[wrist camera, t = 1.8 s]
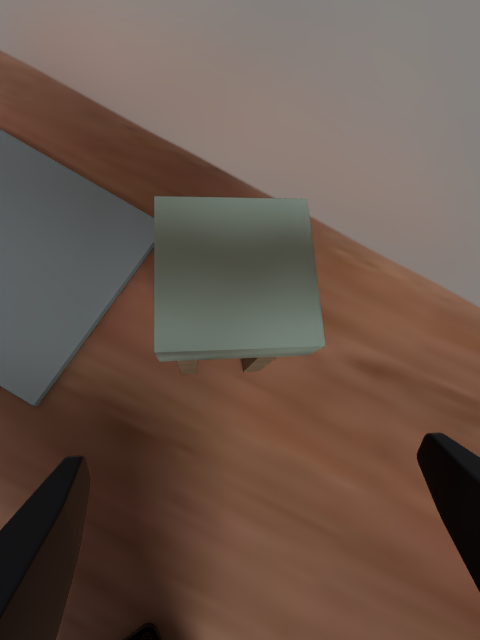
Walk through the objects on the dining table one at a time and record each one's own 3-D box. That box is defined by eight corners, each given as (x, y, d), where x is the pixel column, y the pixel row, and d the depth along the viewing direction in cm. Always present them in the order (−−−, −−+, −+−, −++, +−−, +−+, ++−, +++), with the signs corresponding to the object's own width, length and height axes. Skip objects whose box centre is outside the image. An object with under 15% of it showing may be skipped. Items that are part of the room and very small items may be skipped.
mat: (37, 406, 21) (33, 405, 21) (-158, 288, 22) (-168, 284, 21) (166, 229, 25) (166, 224, 25) (-1, 132, 26) (-5, 126, 25)
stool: (266, 378, 23) (325, 345, 13) (173, 383, 23) (154, 352, 12) (259, 291, 25) (307, 198, 14) (172, 293, 24) (154, 196, 14)
